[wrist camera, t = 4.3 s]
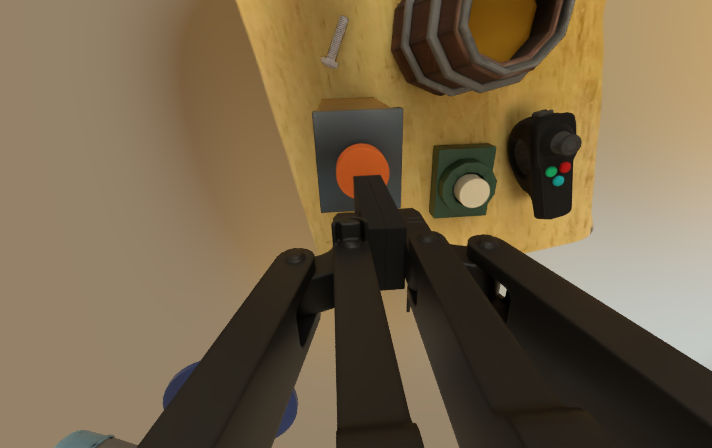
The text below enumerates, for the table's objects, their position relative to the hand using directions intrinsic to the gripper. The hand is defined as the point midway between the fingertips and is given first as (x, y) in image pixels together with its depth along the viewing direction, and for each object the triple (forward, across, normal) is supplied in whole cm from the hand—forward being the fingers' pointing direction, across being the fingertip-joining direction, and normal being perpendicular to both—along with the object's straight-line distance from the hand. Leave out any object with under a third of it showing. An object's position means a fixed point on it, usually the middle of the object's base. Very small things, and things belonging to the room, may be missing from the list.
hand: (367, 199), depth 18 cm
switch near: (+23, 0, 0) cm, 23 cm away
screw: (+23, +1, -9) cm, 25 cm away
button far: (+19, -14, +7) cm, 25 cm away
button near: (+6, 0, 0) cm, 6 cm away
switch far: (+23, -14, +7) cm, 28 cm away
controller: (+23, -22, +4) cm, 32 cm away
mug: (+23, -11, -12) cm, 28 cm away
